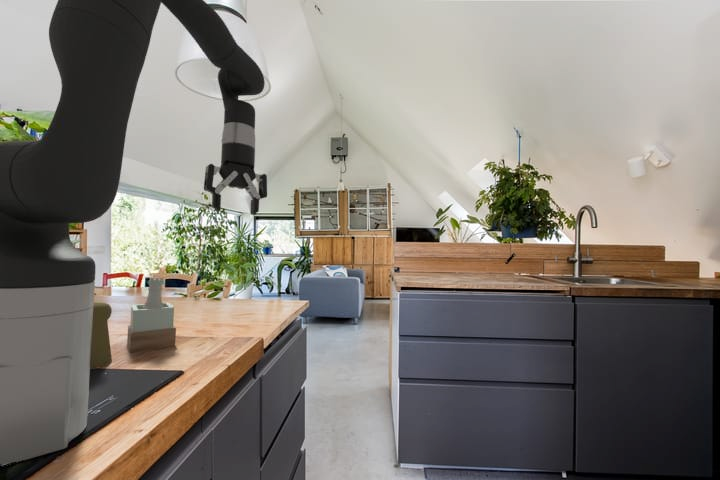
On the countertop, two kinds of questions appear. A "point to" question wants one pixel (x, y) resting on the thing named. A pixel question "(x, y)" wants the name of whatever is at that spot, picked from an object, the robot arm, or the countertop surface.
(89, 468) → the countertop surface
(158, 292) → the rook chess piece
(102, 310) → the olive tapered piece
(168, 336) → the walnut base block
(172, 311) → the sage top block
